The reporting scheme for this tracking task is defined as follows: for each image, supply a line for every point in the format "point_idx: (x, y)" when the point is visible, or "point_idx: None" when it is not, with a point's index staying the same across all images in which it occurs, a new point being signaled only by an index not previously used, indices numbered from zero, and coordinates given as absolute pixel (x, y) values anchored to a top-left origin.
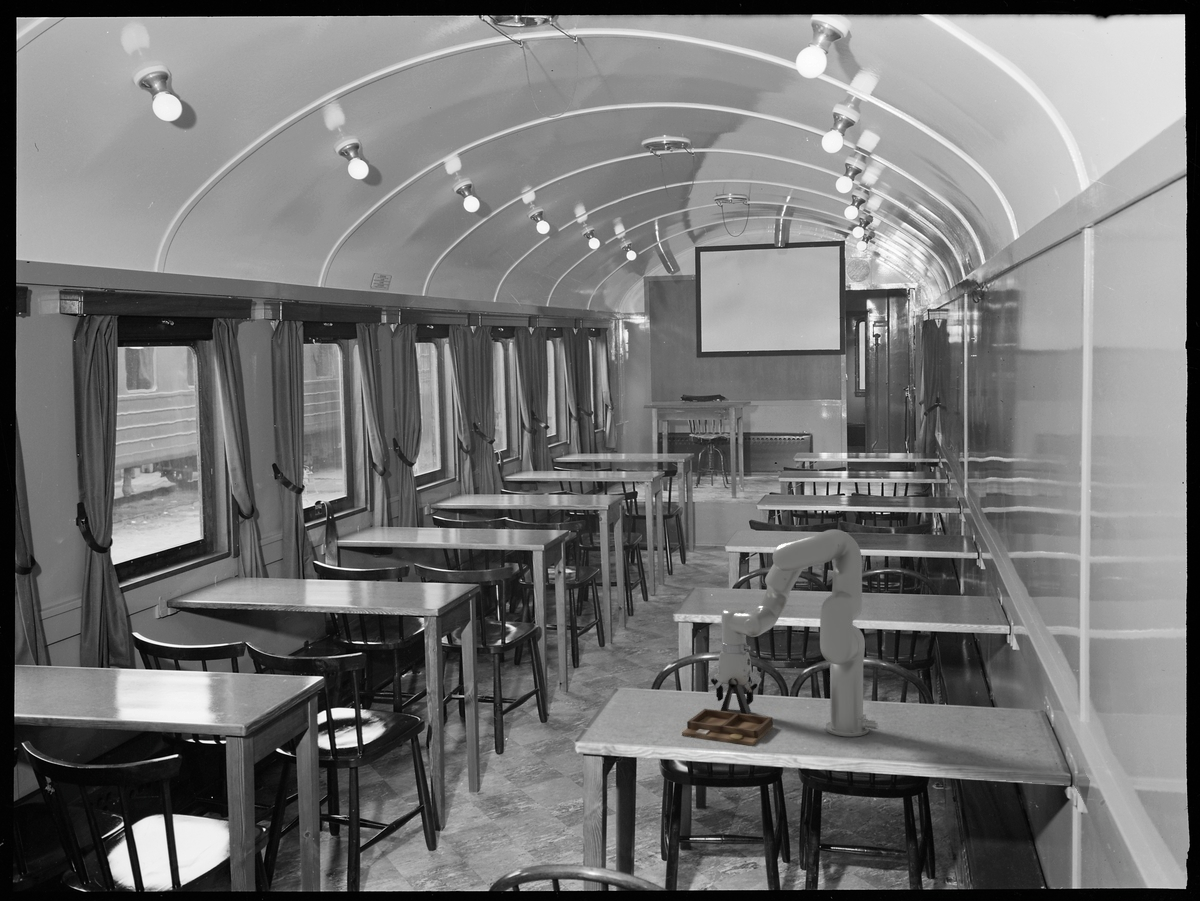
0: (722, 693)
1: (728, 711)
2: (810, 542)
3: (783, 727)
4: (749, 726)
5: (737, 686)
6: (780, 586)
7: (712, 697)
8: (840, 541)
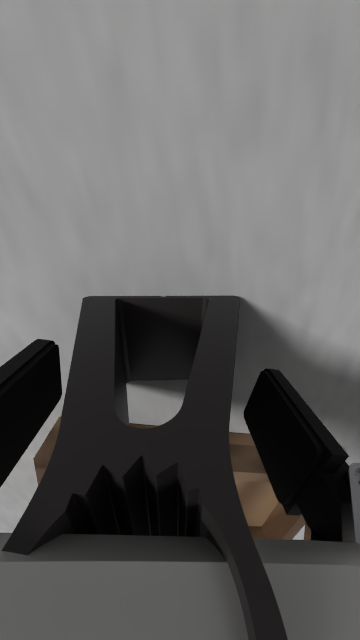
0: (31, 382)
1: (128, 333)
2: None
3: (352, 433)
4: (244, 482)
5: None
6: None
7: None
8: None
